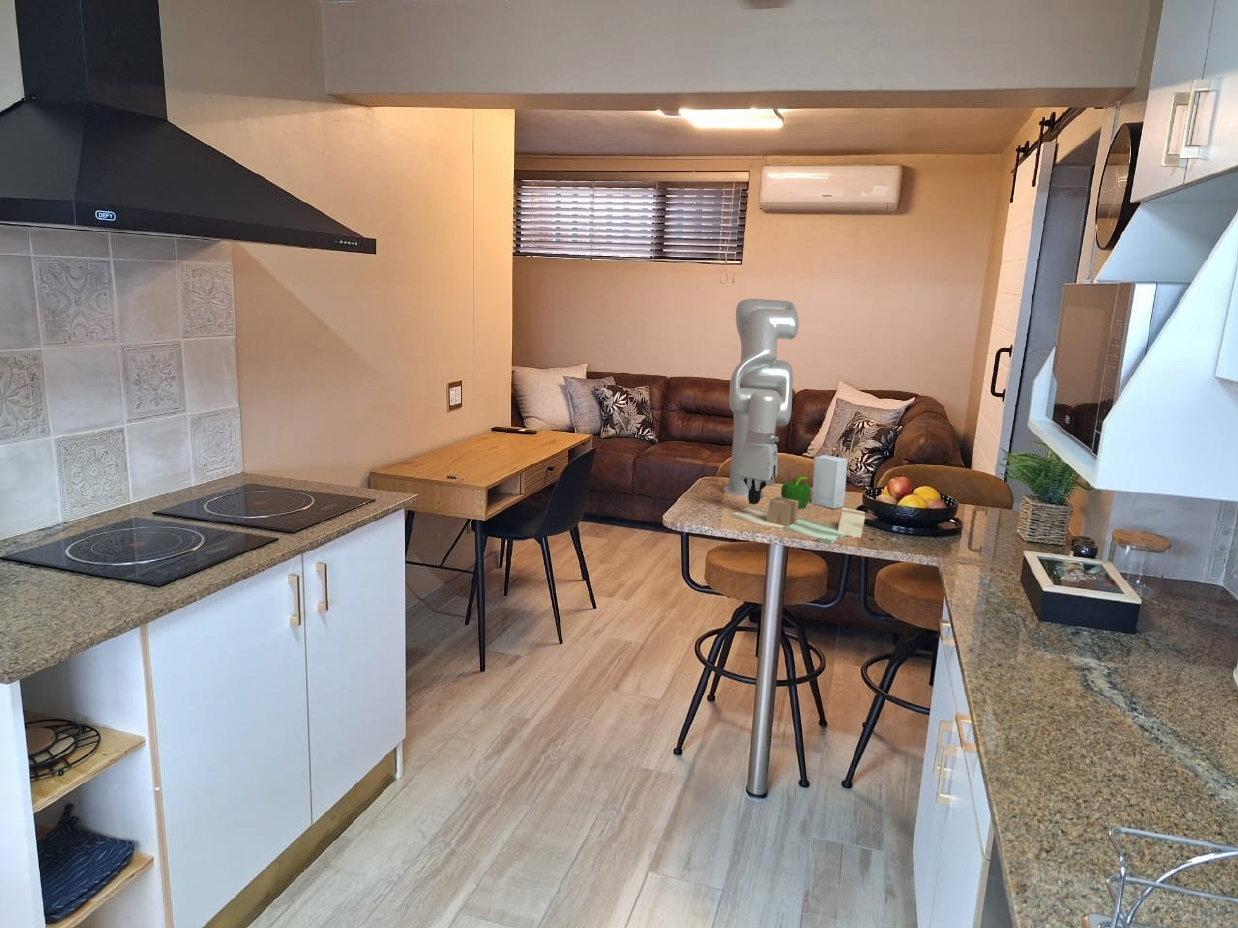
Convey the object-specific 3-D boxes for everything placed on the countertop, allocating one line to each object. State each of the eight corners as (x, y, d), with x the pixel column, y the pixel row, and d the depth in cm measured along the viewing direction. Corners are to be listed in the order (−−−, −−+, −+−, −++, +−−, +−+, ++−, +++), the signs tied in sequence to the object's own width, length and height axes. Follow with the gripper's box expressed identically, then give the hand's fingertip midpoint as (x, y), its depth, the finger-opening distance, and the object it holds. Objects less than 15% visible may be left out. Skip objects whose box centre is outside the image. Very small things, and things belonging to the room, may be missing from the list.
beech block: (837, 528, 222) (841, 507, 220) (860, 533, 220) (864, 511, 219) (837, 534, 216) (841, 512, 215) (860, 538, 214) (865, 517, 213)
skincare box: (844, 506, 246) (850, 458, 243) (833, 509, 242) (839, 460, 239) (820, 500, 252) (825, 453, 249) (809, 503, 248) (814, 455, 245)
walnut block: (778, 496, 224) (798, 500, 221) (776, 517, 225) (796, 522, 222) (768, 500, 219) (789, 504, 216) (766, 521, 221) (786, 526, 217)
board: (748, 510, 235) (748, 506, 235) (849, 533, 218) (850, 529, 218) (725, 519, 224) (726, 516, 224) (830, 544, 207) (830, 540, 207)
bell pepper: (775, 509, 238) (779, 476, 235) (784, 504, 245) (787, 471, 243) (804, 515, 234) (808, 481, 232) (811, 509, 241) (815, 476, 239)
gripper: (791, 440, 220) (784, 506, 224) (741, 432, 229) (735, 496, 233) (779, 444, 214) (772, 511, 218) (729, 435, 223) (723, 500, 226)
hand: (753, 503), depth 225 cm, fingers closed
